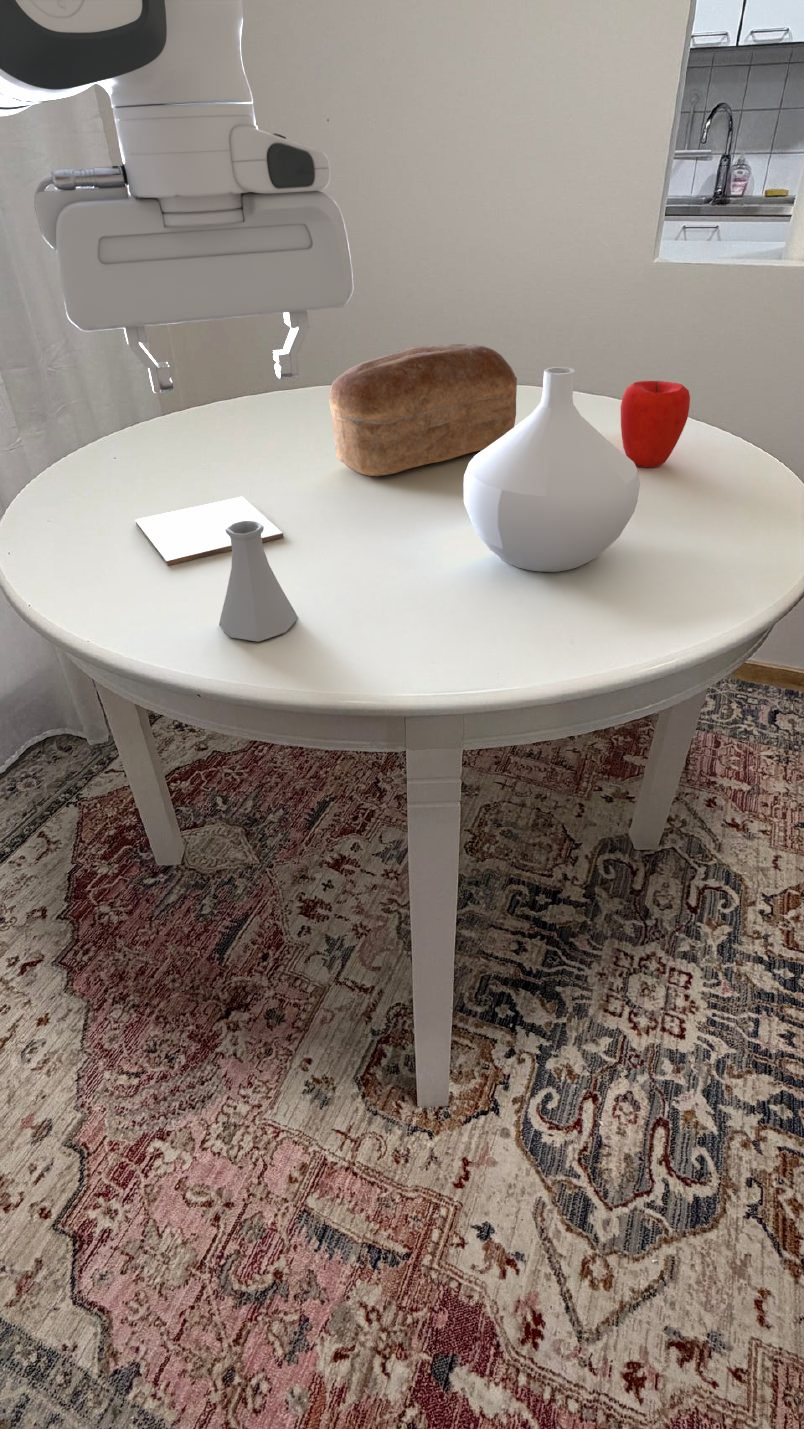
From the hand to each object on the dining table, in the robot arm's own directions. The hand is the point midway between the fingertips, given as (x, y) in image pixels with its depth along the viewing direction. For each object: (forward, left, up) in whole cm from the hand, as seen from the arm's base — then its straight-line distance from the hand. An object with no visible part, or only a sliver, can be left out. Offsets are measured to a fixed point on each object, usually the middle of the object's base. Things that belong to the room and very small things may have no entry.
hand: (226, 383), depth 61 cm
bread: (+40, +38, -23) cm, 60 cm away
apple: (+64, +18, -23) cm, 70 cm away
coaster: (+4, +29, -23) cm, 37 cm away
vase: (+34, +2, -23) cm, 41 cm away
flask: (+1, +4, -23) cm, 24 cm away
